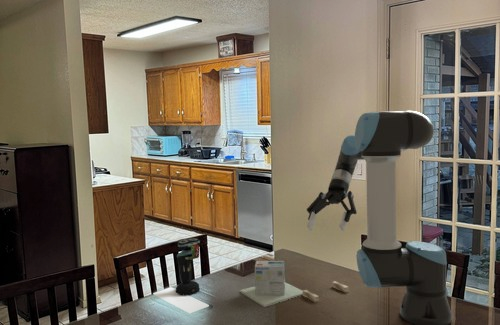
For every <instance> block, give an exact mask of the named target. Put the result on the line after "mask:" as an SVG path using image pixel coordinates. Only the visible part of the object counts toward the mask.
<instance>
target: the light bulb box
mask: <svg viewBox="0 0 500 325" xmlns="http://www.w3.org/2000/svg"><path fill="white" fill-rule="evenodd" d="M285 271H286V270H285V261H284V260H256V261H255V264H254V283H255V284H254V285H255V290H256V295H285V282H286V277H285V276H286V275H285V274H286V273H285Z"/></svg>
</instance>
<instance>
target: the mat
mask: <svg viewBox="0 0 500 325" xmlns="http://www.w3.org/2000/svg"><path fill="white" fill-rule="evenodd" d="M303 291H304V290H302V289H300V288H298V287H296V286H294V285H292V284H290V283H287V282H286V281H285V295H256V290H255V286H250V287H246V288H243V289H240V290H239V292H240V293H241V294H243V295H244V296H246V297H247V298H249V299H251V300H252V301H254V302H255V303H257V304H258V305H260V306H261V307H263V308H266V307H269V306H273V305H276V304H278V303H279V302H280V303H283V302H286V301H289V300H292V299H291V298H293V299H295V298H294V297H296V298H298V297H297V296H299V297H301V296H300V295H303ZM288 299H289V300H288ZM280 303H279V304H280Z"/></svg>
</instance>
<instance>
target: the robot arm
mask: <svg viewBox="0 0 500 325" xmlns="http://www.w3.org/2000/svg"><path fill="white" fill-rule="evenodd" d="M356 122H357V123H356V125H355V129H354V130H355V131H354V134H351V135H348V136H346V137H345V138H344V139H343V140H342V143H341V146H340V150H339V155H338V159H337V160H336V161H337V162H336V163H335V164H336V165H335V168H334V170H333V174H332V176H331V179H330V181H329V185H328V187H327V188H328V189H327V192H326V193H324V192H322V191H320V192H319V194H318V196H317V197H316V198H315V200H313V202H312V203H311V204H309V206H308V207H307V208H306V212H307V213H308V214H309V215H308V218H307V220H308V222H307V228H308V229H309V230H310V231H312V230H313V227H314V225H315V222H316V218H317V214H318V213H320V212H321V211H322V210H323V209H324V208H326V207H328V206H330V205H334V204H335V205H339V204H340V203H341V205H342V207H343V209H344V210H345V211H343V213H342V216H341V220H340V223H339V228H340V230H341V231H343V232H344V231H345V229H346V225H347V223H349V222H350V219H351V216H352V215H353V214H354V215H357V213H358V212H357V210H356V205H355V201H354V194H353V192H352V191H351V190H349V188H350V185H351V181H352V178H353V176H354V175H353V174H354V172H355V169H356V166H357V164H358V160H359V161H361V160H363V161H365V162H366V164H365V165H366V166H365V167H366V227H367V228H366V229H367V230H366V232H367V233H366V234H367V235H366V236H367V237H366V239H365V240H364V241H363V242H362V248H361V249H358V250H357V251H356V256H355V257H356V264H357V269H358V272H359V277H360V279H361V282H362V283H363V284H364V285H365V286H366V287H368V288H375V289H376V288H379V289H382V288H399V287H401V288H402V287H404V288H405V293H404V296H403V299H402V302H401V304H400V306H399V311H400V313H399V314H400V316H401V318H402V319H403V320H404V321H406V322H408V323H410V324H412V325H450V324H451V323H452V321H453V315H452V314H453V313H452V309H451V306H450V304H449V300H448V297H447V264H448V262H447V253H446V251H445V249H443V248H442V247H441V246H439V245H436V244H432V243H430V242H424V241H416V240H415V241H413V240H412V241H411V240H410V241H408V242H406V245H405V247H402V246H403V245H402V243H401V242H400V241H399V240H398V238H397V193H396V192H397V191H396V188H397V187H396V186H397V185H396V184H397V183H396V182H397V181H396V180H397V178H396V176H397V173H396V172H397V171H396V170H397V168H396V162H397V160H398V159H400V157H401V156H402V152H405V151H407V150H417V149H420V148H423V147H425V146H426V145H428V144H429V143H430V142H431V141H432V139H433V136H434V127H433V126H434V125H433V123H432V121H431V120H430V119H429V118H428V116H426V115H425V114H422V113H421V112H418V111H415V110H414V111H413V110H399V111H398V110H397V111H396V110H395V111H377V110H376V111H371V112H364V113H362V114H360V116H359V118H358V120H357V121H356ZM346 198H347V200H348V203H349V208H350V209H349V208H348V206H347V204H346V202H345V201H344V200H346Z"/></svg>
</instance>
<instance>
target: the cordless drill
mask: <svg viewBox="0 0 500 325" xmlns="http://www.w3.org/2000/svg"><path fill="white" fill-rule="evenodd" d="M200 241H201V240H200V239H199V238H196V237H194V238H190V237H189V238H180V239H178V241H177V243H176V244H177V247H178V249H179V250H181V251H180V252H179V253H177V255H176V258H177V264H178V271H179V279H180V282H181V283H179V284H177V285H176V287H175V294H176V295H179V296H191V295H196V294H197V293H199V292H200V291H201V289H200V284H199V283H198V282H197V281H195V280H192V263H191V262H192V260H195V259H199V257H200Z"/></svg>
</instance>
